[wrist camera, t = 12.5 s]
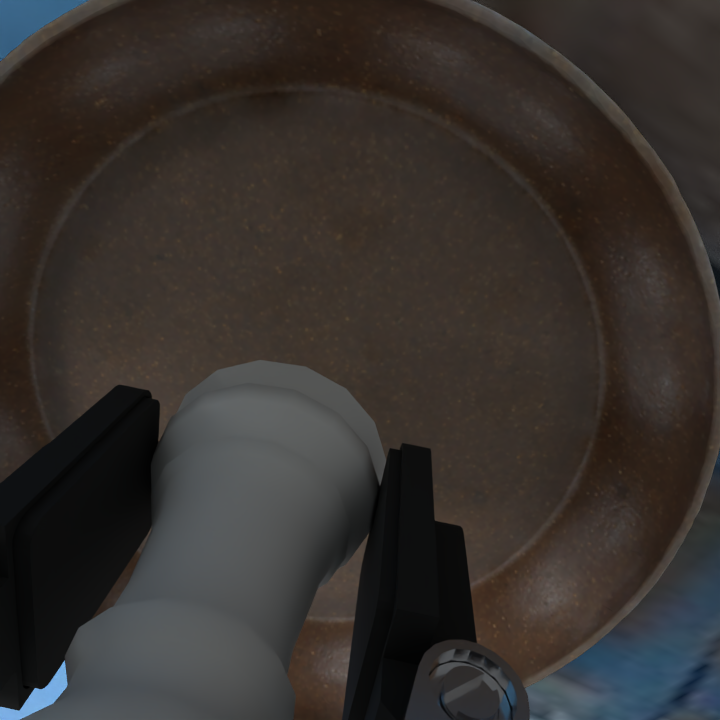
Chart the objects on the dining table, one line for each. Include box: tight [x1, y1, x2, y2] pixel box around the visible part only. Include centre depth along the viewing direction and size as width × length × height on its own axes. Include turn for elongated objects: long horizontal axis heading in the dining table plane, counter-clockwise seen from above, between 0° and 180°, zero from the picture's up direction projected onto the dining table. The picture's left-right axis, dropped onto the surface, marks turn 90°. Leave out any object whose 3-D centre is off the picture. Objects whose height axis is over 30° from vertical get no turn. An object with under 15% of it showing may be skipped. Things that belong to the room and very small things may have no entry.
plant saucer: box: [0, 0, 720, 720], centre depth 13 cm, size 18×18×3 cm
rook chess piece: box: [20, 360, 386, 720], centre depth 8 cm, size 4×4×8 cm
